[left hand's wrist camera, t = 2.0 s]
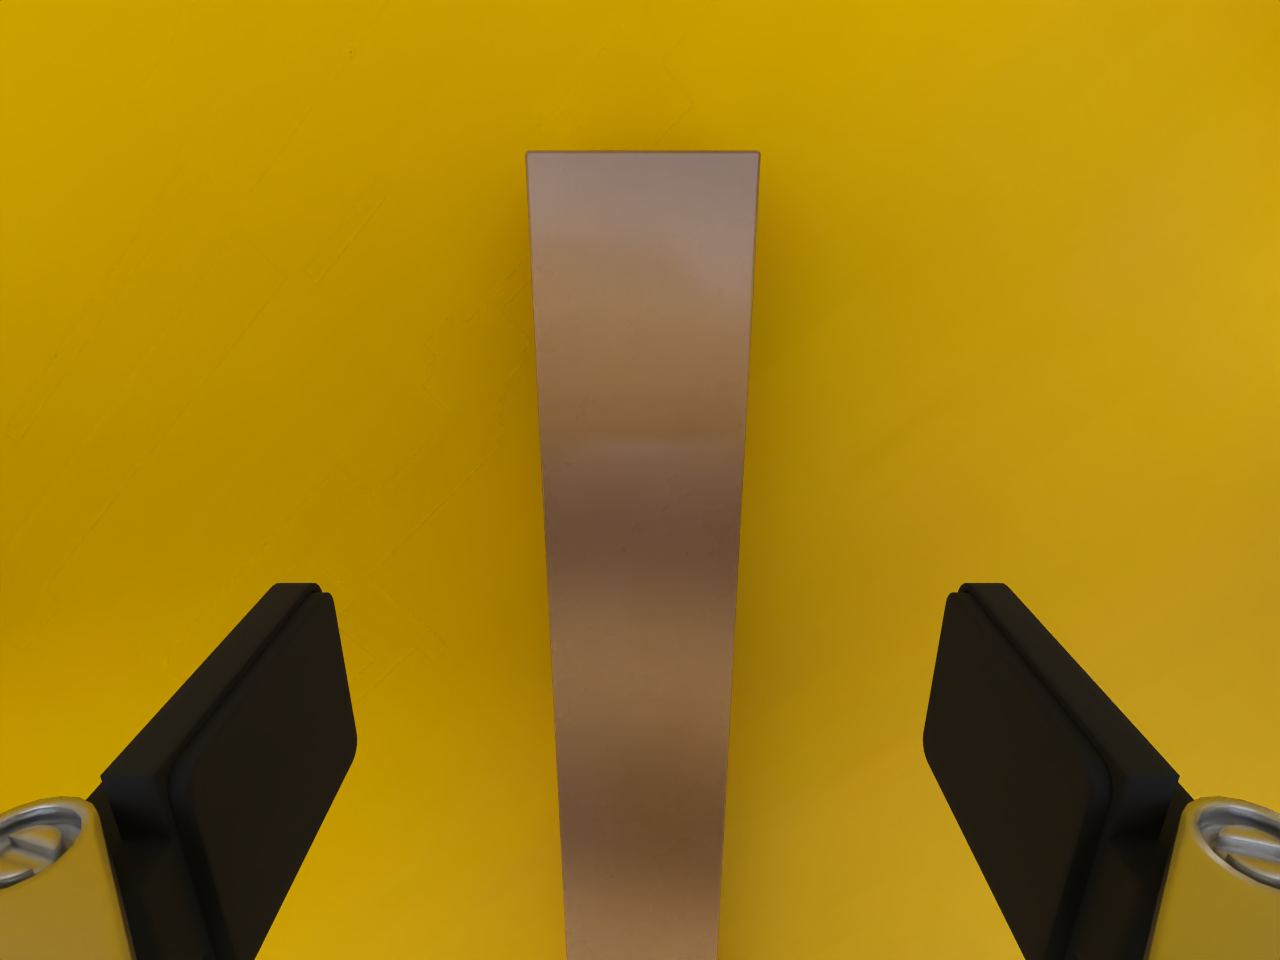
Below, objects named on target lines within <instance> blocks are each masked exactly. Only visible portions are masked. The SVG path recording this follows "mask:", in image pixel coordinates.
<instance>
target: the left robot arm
mask: <svg viewBox="0 0 1280 960" xmlns="http://www.w3.org/2000/svg"><path fill="white" fill-rule="evenodd" d="M356 747H357V733H356V727H355V721H354V716H353V710H352V704H351V698H350V692H349V687H348V681H347V675H346V669H345V664H344V658H343V652H342V646H341V640H340V635H339V629H338V623H337V617H336V611H335V606H334V601H333V598H332V596H331V594H330V593H322V590H321V588H320V587H319V585H317V584H316V583H276V584H275V585H274V586H272V587H271V588H270V589H269V590H268V592H267V593H266V594H265V595H264V596H263V597H262V598H261V599H260V600H259V601H258V603H257V604H256V605H255V606H254V607H253V608H252V609H251V610H250V611H249V613H248V614H247V615H246V616H245V617H244V618H243V619H242V620H241V621H240V622H239V624H238V625H237V626H236V627H235V628H234V629H233V630H232V631H231V632H230V633H229V635H228V636H227V637H226V638H225V639H224V640H223V641H222V642H221V643H220V644H219V646H218V647H217V648H216V649H215V650H214V651H213V652H212V653H211V654H210V655H209V657H208V658H207V659H206V660H205V661H204V662H203V663H202V664H201V665H200V666H199V668H198V669H197V670H196V671H195V672H194V673H193V674H192V675H191V676H190V678H189V679H188V680H187V681H186V682H185V683H184V684H183V685H182V686H181V687H180V689H179V690H178V691H177V692H176V693H175V694H174V695H173V696H172V697H171V698H170V700H169V701H168V702H167V703H166V704H165V705H164V706H163V707H162V708H161V709H160V711H159V712H158V713H157V714H156V715H155V716H154V717H153V718H152V719H151V720H150V722H149V723H148V724H147V725H146V726H145V727H144V728H143V729H142V730H141V732H140V733H139V734H138V735H137V736H136V737H135V738H134V739H133V740H132V741H131V743H130V744H129V745H128V746H127V747H126V748H125V749H124V750H123V751H122V752H121V754H120V755H119V756H118V757H117V758H116V759H115V760H114V761H113V762H112V763H111V765H110V766H109V767H108V768H107V769H106V770H105V771H104V772H103V773H102V774H101V776H100V777H101V780H102V783H101V784H100V785H99V786H98V787H97V788H96V789H95V791H94V792H93V793H92V794H91V795H90V796H89V797H88V798H87V799H86V800H84V799H81V798H79V797H64V796H60V797H53V798H47V799H40V800H36V801H33V802H30V803H27V804H24V805H21V806H17V807H14V808H12V809H10V810H8V811H6V812H4V813H2V814H0V960H254V959H255V958H256V956H257V954H258V952H259V950H260V948H261V946H262V944H263V941H264V939H265V937H266V935H267V933H268V931H269V929H270V927H271V925H272V923H273V921H274V919H275V917H276V915H277V913H278V911H279V909H280V907H281V905H282V903H283V901H284V899H285V897H286V895H287V893H288V891H289V889H290V887H291V885H292V883H293V881H294V879H295V877H296V875H297V873H298V871H299V869H300V867H301V865H302V863H303V861H304V859H305V857H306V855H307V853H308V851H309V849H310V847H311V845H312V843H313V841H314V838H315V836H316V834H317V832H318V830H319V828H320V826H321V824H322V822H323V820H324V818H325V816H326V814H327V812H328V810H329V808H330V806H331V804H332V802H333V800H334V798H335V796H336V794H337V792H338V790H339V788H340V786H341V784H342V782H343V780H344V778H345V776H346V774H347V772H348V770H349V768H350V766H351V764H352V762H353V759H354V756H355V753H356ZM923 747H924V753H925V756H926V759H927V762H928V764H929V766H930V768H931V770H932V772H933V774H934V776H935V778H936V780H937V782H938V784H939V786H940V788H941V790H942V792H943V794H944V796H945V798H946V800H947V802H948V804H949V806H950V808H951V810H952V812H953V814H954V816H955V818H956V820H957V822H958V824H959V826H960V828H961V830H962V832H963V834H964V836H965V838H966V841H967V843H968V845H969V847H970V849H971V851H972V853H973V855H974V857H975V859H976V861H977V863H978V865H979V867H980V869H981V871H982V873H983V875H984V877H985V879H986V881H987V883H988V885H989V887H990V889H991V891H992V893H993V895H994V897H995V899H996V901H997V903H998V905H999V907H1000V909H1001V911H1002V913H1003V915H1004V917H1005V919H1006V921H1007V923H1008V925H1009V927H1010V929H1011V931H1012V933H1013V935H1014V937H1015V939H1016V941H1017V944H1018V946H1019V948H1020V950H1021V952H1022V954H1023V956H1024V958H1025V959H1026V960H1280V814H1278V813H1276V812H1274V811H1272V810H1270V809H1268V808H1266V807H1263V806H1259V805H1256V804H1253V803H1250V802H1247V801H1244V800H1240V799H1233V798H1227V797H1220V796H1216V797H1202V798H1199V799H1196V800H1194V799H1193V798H1192V797H1191V796H1190V795H1189V794H1188V793H1187V792H1186V791H1185V789H1184V788H1183V787H1182V786H1181V785H1180V784H1179V783H1178V780H1179V777H1180V776H1179V774H1178V773H1177V772H1176V771H1175V770H1174V769H1173V768H1172V767H1171V766H1170V765H1169V763H1168V762H1167V761H1166V760H1165V759H1164V758H1163V757H1162V756H1161V755H1160V754H1159V752H1158V751H1157V750H1156V749H1155V748H1154V747H1153V746H1152V745H1151V744H1150V743H1149V741H1148V740H1147V739H1146V738H1145V737H1144V736H1143V735H1142V734H1141V733H1140V732H1139V730H1138V729H1137V728H1136V727H1135V726H1134V725H1133V724H1132V723H1131V722H1130V720H1129V719H1128V718H1127V717H1126V716H1125V715H1124V714H1123V713H1122V712H1121V711H1120V709H1119V708H1118V707H1117V706H1116V705H1115V704H1114V703H1113V702H1112V701H1111V700H1110V698H1109V697H1108V696H1107V695H1106V694H1105V693H1104V692H1103V691H1102V690H1101V689H1100V687H1099V686H1098V685H1097V684H1096V683H1095V682H1094V681H1093V680H1092V679H1091V678H1090V676H1089V675H1088V674H1087V673H1086V672H1085V671H1084V670H1083V669H1082V668H1081V667H1080V665H1079V664H1078V663H1077V662H1076V661H1075V660H1074V659H1073V658H1072V657H1071V655H1070V654H1069V653H1068V652H1067V651H1066V650H1065V649H1064V648H1063V647H1062V646H1061V644H1060V643H1059V642H1058V641H1057V640H1056V639H1055V638H1054V637H1053V636H1052V635H1051V633H1050V632H1049V631H1048V630H1047V629H1046V628H1045V627H1044V626H1043V625H1042V624H1041V622H1040V621H1039V620H1038V619H1037V618H1036V617H1035V616H1034V615H1033V614H1032V613H1031V611H1030V610H1029V609H1028V608H1027V607H1026V606H1025V605H1024V604H1023V603H1022V601H1021V600H1020V599H1019V598H1018V597H1017V596H1016V595H1015V594H1014V593H1013V592H1012V590H1011V589H1010V588H1009V587H1008V586H1006V585H1005V584H1004V583H964V584H963V585H961V587H960V588H959V590H958V593H950V594H949V596H948V598H947V601H946V606H945V611H944V617H943V623H942V629H941V635H940V640H939V646H938V652H937V658H936V664H935V669H934V675H933V681H932V687H931V692H930V698H929V704H928V710H927V716H926V721H925V727H924V733H923Z"/></svg>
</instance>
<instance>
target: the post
mask: <svg viewBox="0 0 1280 960" xmlns="http://www.w3.org/2000/svg"><path fill="white" fill-rule="evenodd" d="M760 155H761V154H760V152H759V151H527V152H526V154H525V159H526V178H527V198H528V217H529V236H530V256H531V275H532V294H533V314H534V333H535V352H536V372H537V391H538V410H539V430H540V449H541V468H542V488H543V507H544V526H545V546H546V565H547V585H548V604H549V623H550V643H551V662H552V681H553V701H554V720H555V739H556V759H557V778H558V797H559V817H560V836H561V855H562V875H563V894H564V913H565V933H566V952H567V960H717V947H718V928H719V910H720V892H721V873H722V855H723V836H724V818H725V800H726V781H727V763H728V744H729V726H730V708H731V689H732V671H733V652H734V634H735V616H736V597H737V579H738V560H739V542H740V524H741V505H742V487H743V468H744V450H745V432H746V413H747V395H748V376H749V358H750V340H751V321H752V303H753V284H754V266H755V247H756V229H757V211H758V192H759V174H760Z"/></svg>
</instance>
